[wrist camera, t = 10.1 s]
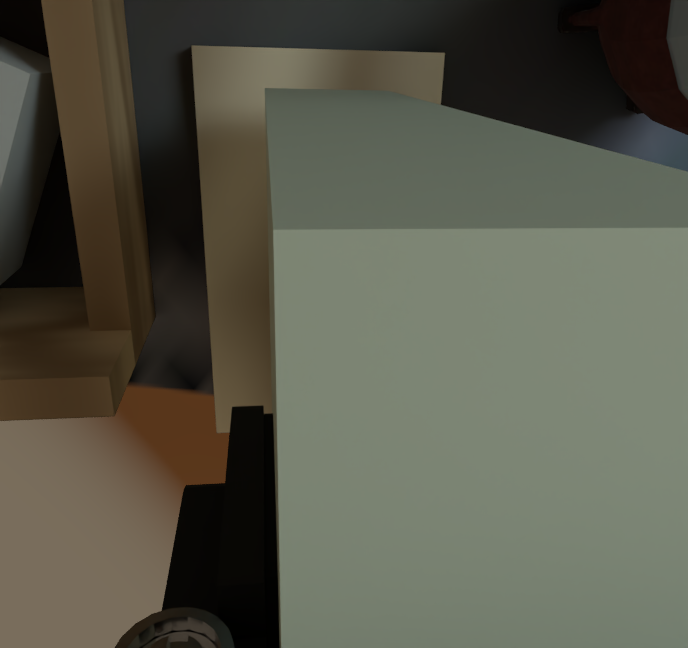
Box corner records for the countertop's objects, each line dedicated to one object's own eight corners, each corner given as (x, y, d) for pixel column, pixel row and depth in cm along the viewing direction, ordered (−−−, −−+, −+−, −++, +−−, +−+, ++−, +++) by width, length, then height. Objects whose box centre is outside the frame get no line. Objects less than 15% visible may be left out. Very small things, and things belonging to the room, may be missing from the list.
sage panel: (388, 90, 18) (889, 227, 4) (370, 437, 23) (559, 1103, 8) (264, 87, 18) (274, 229, 3) (272, 442, 23) (291, 1151, 8)
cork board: (440, 52, 21) (444, 52, 20) (411, 416, 26) (414, 424, 26) (193, 45, 20) (191, 45, 19) (217, 424, 25) (216, 433, 25)
